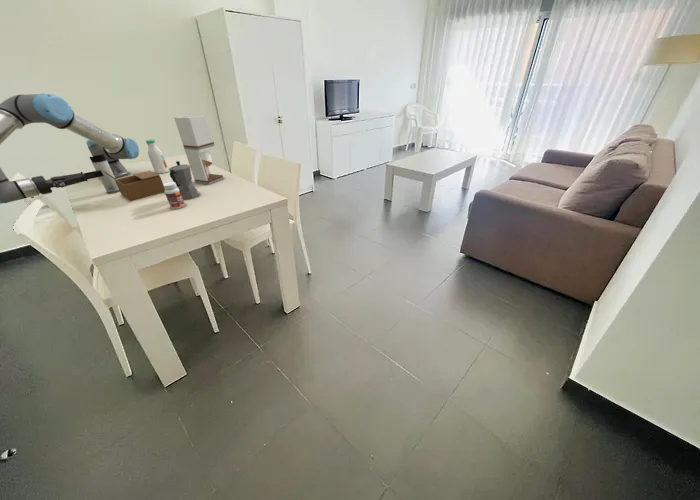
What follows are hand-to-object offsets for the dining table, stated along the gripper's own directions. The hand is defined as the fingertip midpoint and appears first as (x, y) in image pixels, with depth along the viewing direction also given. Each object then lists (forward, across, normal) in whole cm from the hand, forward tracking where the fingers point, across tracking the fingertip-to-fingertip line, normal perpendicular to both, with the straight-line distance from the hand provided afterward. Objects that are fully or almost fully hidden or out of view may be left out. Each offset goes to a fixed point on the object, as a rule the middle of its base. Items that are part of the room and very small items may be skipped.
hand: (101, 173), depth 136 cm
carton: (+13, 0, -14) cm, 19 cm away
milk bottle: (+35, -36, -15) cm, 52 cm away
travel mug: (+4, -18, -15) cm, 23 cm away
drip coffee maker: (+45, +8, -15) cm, 48 cm away
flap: (+2, 0, -2) cm, 3 cm away
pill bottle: (+17, +34, -15) cm, 41 cm away
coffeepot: (+25, +25, -15) cm, 39 cm away
